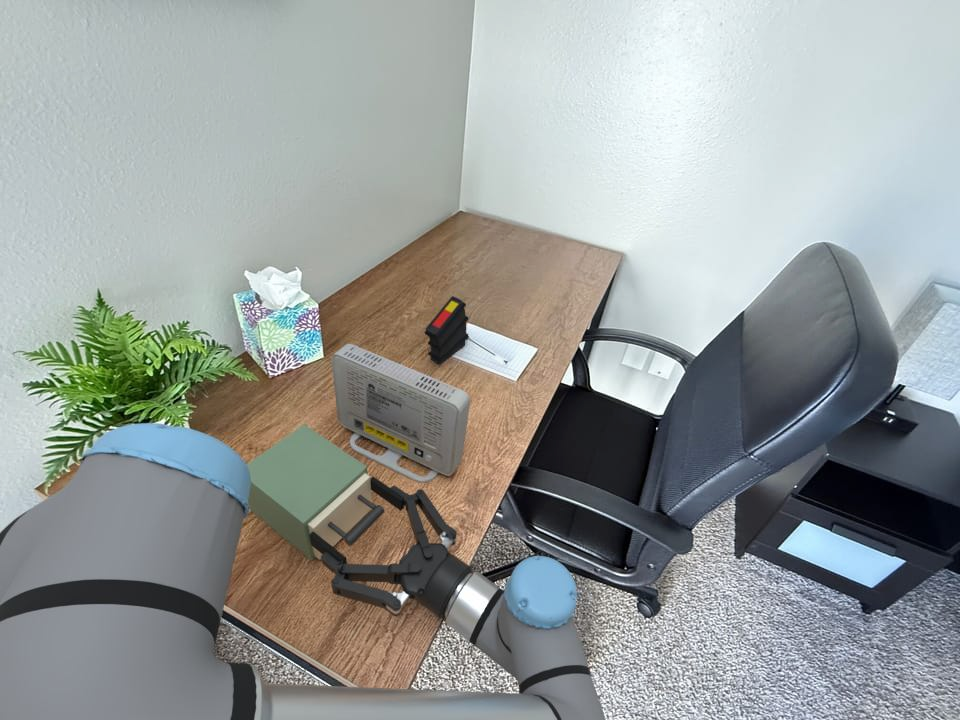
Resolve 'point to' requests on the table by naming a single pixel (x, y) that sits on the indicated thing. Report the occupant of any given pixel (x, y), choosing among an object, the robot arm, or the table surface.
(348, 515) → the drawer
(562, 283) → the table surface
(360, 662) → the table surface
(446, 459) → the network device
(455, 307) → the black electronic module
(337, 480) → the cabinet
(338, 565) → the robot arm
